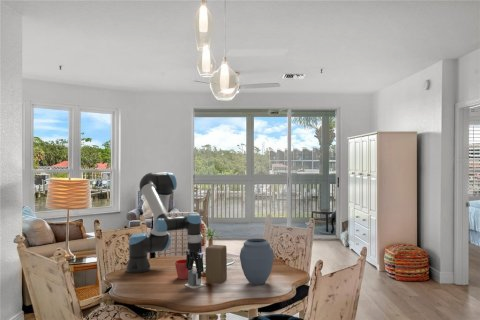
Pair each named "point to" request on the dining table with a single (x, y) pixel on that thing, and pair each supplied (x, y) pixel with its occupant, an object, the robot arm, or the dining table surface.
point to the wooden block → (216, 263)
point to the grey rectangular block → (192, 278)
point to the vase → (256, 260)
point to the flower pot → (181, 269)
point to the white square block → (194, 286)
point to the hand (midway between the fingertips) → (194, 282)
